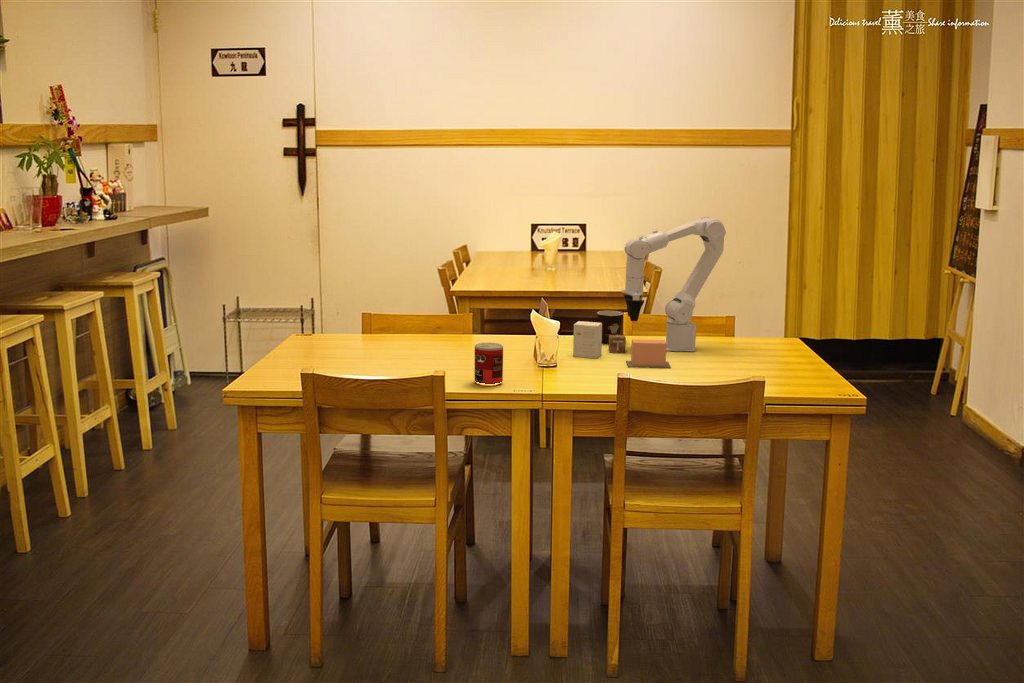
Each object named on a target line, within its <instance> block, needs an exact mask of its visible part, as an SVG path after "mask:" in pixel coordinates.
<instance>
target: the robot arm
mask: <svg viewBox="0 0 1024 683" xmlns="http://www.w3.org/2000/svg"><path fill="white" fill-rule="evenodd" d="M726 234H727V231H726V228H725V225H724V224H723V222H722V221H721V220H719V219H714V218H711V217H708V216H702V217H700V218H696V219H692V220H691V221H690V220H689V221H688V222H686V223H684V224H681V225H679V226H677V227H674V228H672V229H669V230H667V231H664V230H657V229H654V230H652V232H651V233H648V234H646V235H644V236H643V235H639V236H638V239H637V238H631V239H629V240H627V242H626V244H625V246H624V247H623V249H624V252H625V254H626V262H625V263H626V264H625V266H626V267H625V286H624V287H625V288H624V289H621V293H622V294H623V298H624V300H625V303H626V310H627V316H628V317H629V319H630V322H638V320H639V318H640V314H641V309H642V307H643V305H644V303H645V300H644V299H641V298H642V295H644V283H645V282H644V280H645V279H644V278H645V276H644V275H645V258H646V256H647V255H649V254H651V253H653V252H657V251H659V250H661V249H665V248H666V247H667V246H668V244H669V243H670V242H673V241H675V240H678V239H681V238H684V237H688V236H691V235H693V236H695V235H696V236H699V237H700V239H701V240H702V242H703V246H704V251H703V253H702V254H701V256H700V257H699V260H698V261H697V263H696V264H695V266H694V268H693V269H692V271H691V273H690V274H689V276H688V277H687V280H686V282H685V283H684V285H683V286H682V288H681V290H680V291H679V292H677V293H676V294H675V295H674V296H673V297H672V299H671V300H669V301H668V302H667V303H666V305H665V307H664V312H665V315H666V316H667V319H666V332H665V335H666V336H665V342H666V343H667V347H666V352H696V339H697V338H696V337H697V335H696V334H697V327H696V322H690V321H691V320H692V318H693V312H694V308H695V307H696V298H697V297H698V295H699V293H700V292H701V290H702V288H703V286H704V285H705V283H706V282H707V280H708V278H709V276H710V275H711V273H712V271H713V269H714V268H715V266H716V264H717V263H718V261H719V259H720V258H721V256H722V255H723V252H724V244H725V236H726Z"/></svg>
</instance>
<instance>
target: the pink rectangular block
mask: <svg viewBox="0 0 1024 683" xmlns="http://www.w3.org/2000/svg"><path fill="white" fill-rule="evenodd" d="M666 347H667V343H666V339H636V338H635V339H631V349H630V351H631V352H630V361H631V363H632V365H634V366H666V361H667V351H666Z"/></svg>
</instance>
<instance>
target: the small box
mask: <svg viewBox="0 0 1024 683" xmlns="http://www.w3.org/2000/svg"><path fill="white" fill-rule="evenodd" d="M572 341H573V342H572V343H573V345H572V346H573V348H572V351H573V352H572V355H573V357H574V358H575V357H577V358H585V359H587V358H588V359H598V358H600V356H602V351H603V350H602V345H603V344H602V323H598V322H597V321H596V322H595V321H594V322H593V321H590V322H588V321H580V320H578V321H577V322H575V323H574V324H573V340H572Z"/></svg>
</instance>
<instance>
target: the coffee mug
mask: <svg viewBox="0 0 1024 683" xmlns="http://www.w3.org/2000/svg"><path fill="white" fill-rule="evenodd" d="M596 316H597V317H591V318H589V319H588V320H587V322H592V320H593V321H594V320H595V321H596V322H597V323H602V345H608V346H609V335H621V329H622V324H623V323H622V322H623V317H624V313H623V312H622V311H616V310H599V311H597V312H596Z"/></svg>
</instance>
